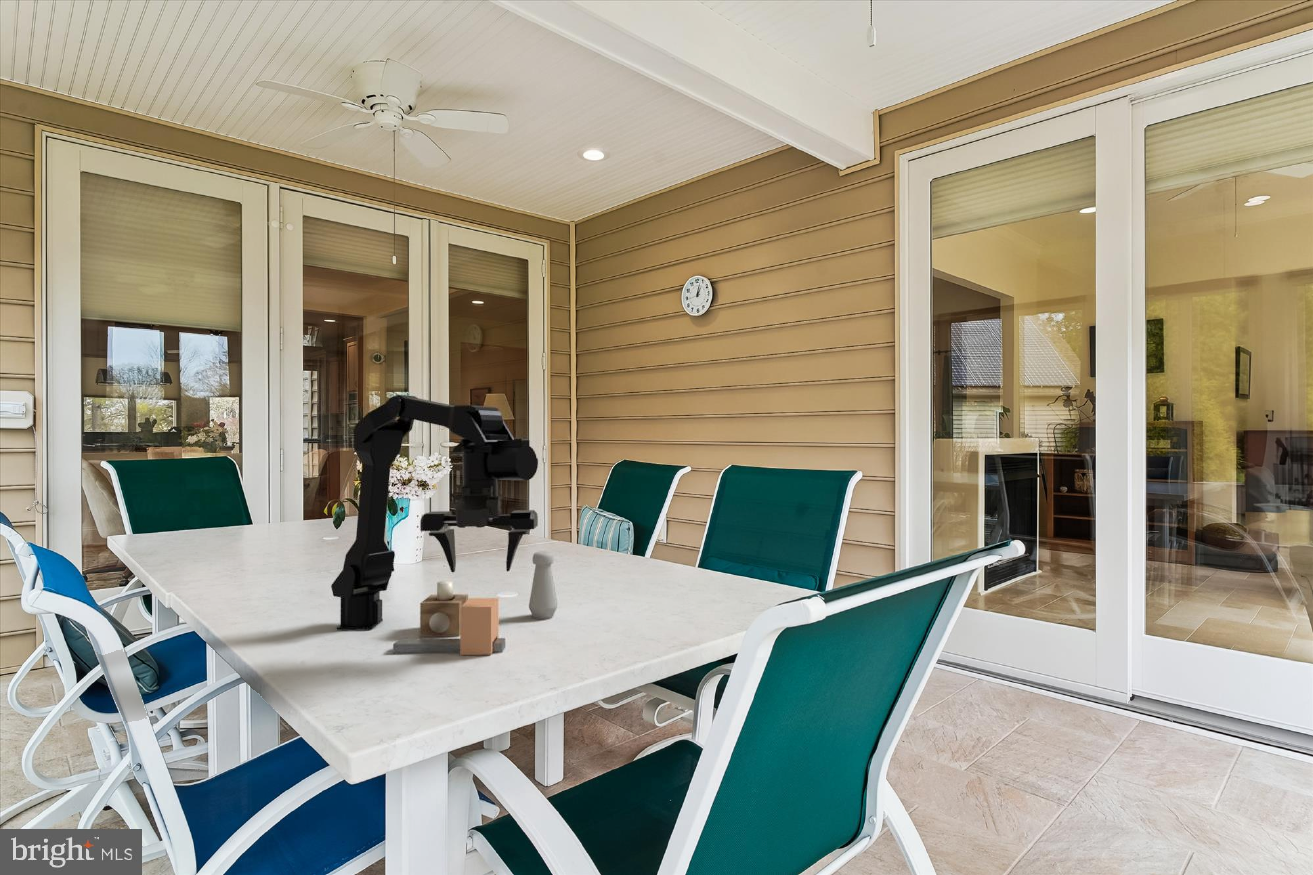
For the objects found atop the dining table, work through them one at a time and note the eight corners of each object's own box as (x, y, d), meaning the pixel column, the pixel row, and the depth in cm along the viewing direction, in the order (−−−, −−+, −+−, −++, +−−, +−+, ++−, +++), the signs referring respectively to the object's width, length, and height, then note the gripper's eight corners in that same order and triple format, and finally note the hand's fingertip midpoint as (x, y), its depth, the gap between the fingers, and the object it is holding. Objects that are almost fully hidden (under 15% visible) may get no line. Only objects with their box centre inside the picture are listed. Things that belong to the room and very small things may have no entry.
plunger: (435, 599, 128) (435, 584, 128) (439, 596, 131) (439, 580, 131) (450, 599, 128) (450, 583, 128) (454, 596, 131) (454, 580, 131)
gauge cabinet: (419, 636, 125) (419, 603, 125) (431, 625, 133) (431, 594, 133) (458, 636, 126) (459, 603, 126) (468, 625, 133) (468, 594, 133)
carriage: (460, 654, 114) (460, 607, 114) (469, 643, 121) (469, 598, 121) (491, 654, 114) (491, 606, 114) (498, 642, 121) (498, 597, 121)
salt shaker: (560, 613, 142) (561, 550, 143) (554, 620, 137) (554, 554, 137) (532, 612, 143) (533, 549, 143) (524, 619, 137) (525, 554, 137)
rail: (393, 653, 116) (393, 644, 116) (399, 647, 119) (399, 639, 119) (502, 652, 116) (502, 643, 116) (505, 646, 119) (505, 638, 119)
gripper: (409, 482, 110) (410, 581, 109) (529, 481, 110) (529, 579, 110) (429, 479, 121) (430, 569, 120) (537, 477, 122) (538, 567, 121)
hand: (480, 571), depth 118 cm, fingers open, 9 cm apart
